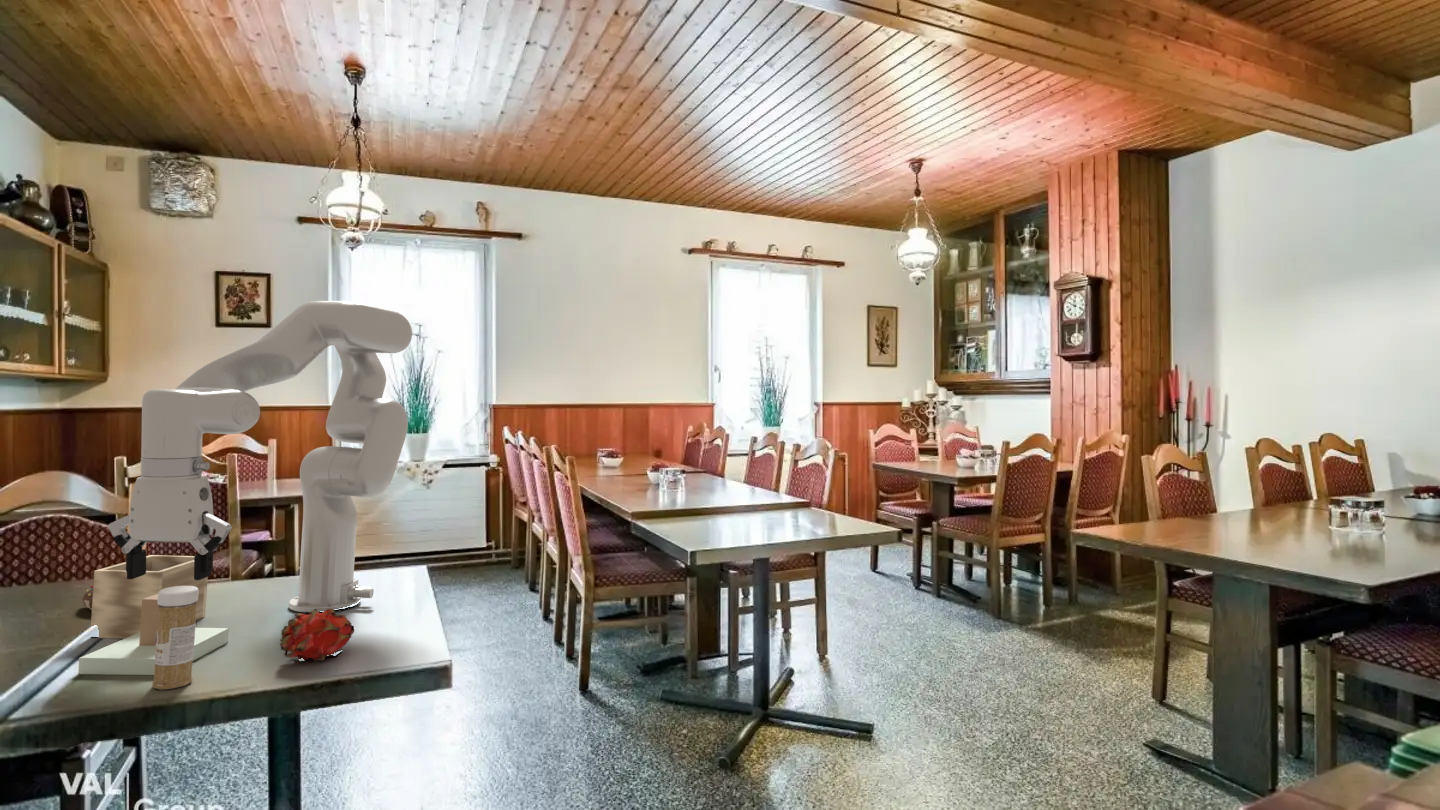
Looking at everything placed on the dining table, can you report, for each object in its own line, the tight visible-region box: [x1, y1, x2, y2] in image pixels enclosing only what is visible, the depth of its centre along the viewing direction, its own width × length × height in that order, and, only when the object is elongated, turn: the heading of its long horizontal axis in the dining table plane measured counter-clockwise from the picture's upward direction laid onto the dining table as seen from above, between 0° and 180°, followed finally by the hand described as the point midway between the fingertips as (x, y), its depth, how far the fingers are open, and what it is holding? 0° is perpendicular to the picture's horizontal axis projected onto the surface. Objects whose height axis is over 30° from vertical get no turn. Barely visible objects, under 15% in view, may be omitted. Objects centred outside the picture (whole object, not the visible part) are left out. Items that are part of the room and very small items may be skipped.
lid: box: [77, 594, 230, 676], centre depth 110 cm, size 12×15×9 cm
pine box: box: [90, 554, 209, 639], centre depth 124 cm, size 10×13×11 cm
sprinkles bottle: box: [151, 586, 199, 690], centre depth 100 cm, size 5×5×13 cm
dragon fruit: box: [279, 608, 355, 661], centre depth 113 cm, size 8×8×12 cm
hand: (169, 577), depth 111 cm, fingers open, 9 cm apart
